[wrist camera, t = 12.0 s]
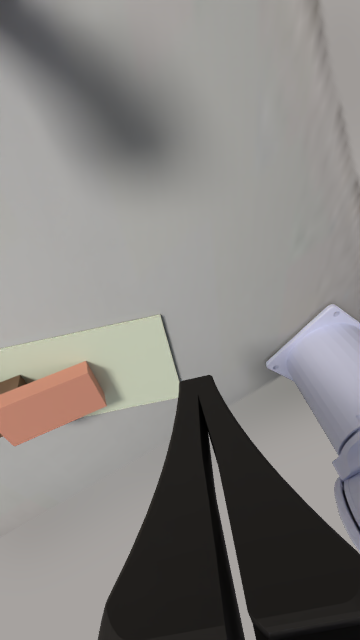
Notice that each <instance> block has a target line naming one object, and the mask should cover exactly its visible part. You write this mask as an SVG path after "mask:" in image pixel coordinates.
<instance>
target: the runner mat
mask: <svg viewBox="0 0 360 640" xmlns="http://www.w3.org/2000/svg"><path fill="white" fill-rule="evenodd" d="M84 361H87V363H88V365H89V367H90V369H91V370H92V372H93V374H94V376H95V378H96V379H97V381H98V383H99V385H100V386H101V388H102V390H103V392H104V394H105V399H106V405H107V406H106V407H104V408H101V409H99V410H97V411H94V412H92V413H90V414H88V415H85V416H83V417H86V416H91V415H96V414H101V413H106V412H111V411H116V410H120V409H125V408H130V407H135V406H140V405H145V404H150V403H155V402H159V401H164V400H169V399H174V398H178V395H179V383H180V382H179V378H178V375H177V371H176V368H175V364H174V361H173V357H172V354H171V350H170V347H169V343H168V340H167V336H166V333H165V329H164V326H163V322H162V319H161V315H155V316H151V317H146V318H141V319H137V320H132V321H128V322H123V323H118V324H114V325H109V326H104V327H100V328H95V329H90V330H86V331H81V332H76V333H72V334H67V335H62V336H58V337H53V338H48V339H44V340H39V341H34V342H30V343H25V344H20V345H16V346H11V347H7V348H2V349H0V382H2V381H5V380H7V379H10V378H13V377H15V376H18V375H21V376H22V378H23V379H24V380H25V381H26V383H27V384H28V383H31V382H33V381H36V380H38V379H41V378H43V377H46V376H49V375H51V374H54V373H56V372H59V371H61V370H64V369H66V368H69V367H71V366H74V365H76V364H79V363H82V362H84ZM81 418H82V417H81Z"/></svg>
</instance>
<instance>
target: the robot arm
mask: <svg viewBox="0 0 360 640" xmlns="http://www.w3.org/2000/svg"><path fill="white" fill-rule="evenodd" d="M335 312H336V313H335ZM334 313H335V314H334ZM266 366H267V368H268V369H270V370H272V371H274V372H276V373H278V374H280V375H282V376H284V377H286V378H288V379H291V380H292V381H294V382H295V384H296V385H297V387H298V388H299V390H300V392H301V394H302V395H303V397H304V399H305V400H306V402H307V403H308V405H309V407H310V408H311V410H312V412H313V414H314V415H315V417H316V419H317V420H318V422H319V423H320V425H321V427H322V429H323V430H324V432H325V434H326V435H327V437H328V439H329V440H330V442H331V444H332V445H333V447H334V449H335V450H336V452H337V454H338V455H339V457H338V458H337V459H335V460H334V461H333V462H332V464H333V465H334V467H335V469H336V471H337V472H338V474H339V476H340V477H339V478H338V479H337V480H336V482H335V487H334V491H335V499H336V503H337V508H338V512H339V515H340V518H341V520H342V522H343V525H344V527H345V529H346V531H347V533H348V535H349V536H350V538H351V540H352V541H353V543H354V545H355V546H356V548H357V549H358V551H359V552H360V322H358V321H357V320H355V319H354V318H353V317H351V316H350V315H349V314H347V313H346V312H345V311H343V310H342V309H341V308H339V307H338V306H337V305H335V304H331V305H329V306H327V307H326V308H325V309H324V310H323V311H322V312H321V313H319V314H318V315H317V316H316V317H315V318H314V319H313V320H312V321H311V322H310V323H308V324H307V325H306V326H305V327H304V328H303V329H302V330H301V331H300V332H299V333H297V334H296V335H295V336H294V337H293V338H292V339H291V340H290V341H289V342H288V343H287V344H285V345H284V346H283V347H282V348H281V349H280V350H279V351H278V352H277V353H276V354H274V355H273V356H272V357H271V358H270V359H269V360H268V361H267V362H266ZM208 433H209V436H210V440H211V443H212V446H213V450H214V453H215V456H216V460H217V463H218V467H219V471H220V476H221V481H222V486H223V490H224V496H225V501H226V505H227V510H228V515H229V520H230V525H231V530H232V535H233V540H234V545H235V550H236V555H237V560H238V565H239V570H240V575H241V580H242V585H243V590H244V595H245V599H246V605H247V610H248V613H249V616H250V618H251V620H252V623H253V627H254V631H255V636H256V640H360V554H359V553H358V552H357V551H356V550H355V549H354V548H353V547H352V546H351V545H349V544H348V543H347V542H346V541H345V540H344V539H343V538H342V537H341V536H340V535H339V534H337V532H336V531H334V530H333V529H332V528H331V527H330V526H329V525H328V524H327V523H326V522H325V521H324V520H323V519H322V518H321V517H320V516H319V515H318V514H317V513H316V512H315V511H314V510H313V509H312V508H311V507H310V506H309V505H308V504H307V503H306V502H305V501H304V500H303V499H302V498H301V497H300V496H299V495H298V494H297V493H296V492H295V491H294V489H293V488H292V487H291V486H290V485H289V484H288V483H287V482H286V481H285V480H284V479H283V478H282V477H281V476H280V475H279V473H278V472H277V471H276V470H275V469H274V468H273V466H272V465H271V464H270V463H269V462H268V461H267V460H266V458H265V457H264V456H263V455H262V454H261V452H260V451H259V450H258V449H257V447H256V446H255V445H254V444H253V442H252V441H251V440H250V438H249V437H248V436H247V434H246V433H245V432H244V430H243V429H242V428H241V426H240V425H239V424H238V422H237V421H236V419H235V417H234V416H233V414H232V413H231V411H230V410H229V408H228V407H227V405H226V403H225V402H224V400H223V398H222V396H221V395H220V393H219V391H218V389H217V387H216V385H215V382H214V380H213V377H212V376H211V375H207V376H202V377H198V378H193V379H189V380H184V381H181V382H180V383H179V395H178V404H177V411H176V416H175V421H174V427H173V432H172V436H171V440H170V444H169V448H168V452H167V456H166V459H165V462H164V466H163V469H162V472H161V475H160V478H159V481H158V485H157V487H156V490H155V493H154V496H153V498H152V501H151V504H150V506H149V509H148V512H147V514H146V517H145V519H144V522H143V524H142V526H141V529H140V531H139V533H138V536H137V538H136V540H135V543H134V545H133V547H132V549H131V552H130V554H129V556H128V558H127V560H126V562H125V565H124V567H123V569H122V571H121V573H120V575H119V577H118V579H117V581H116V583H115V585H114V587H113V589H112V591H111V593H110V595H109V597H108V600H107V602H106V605H105V608H104V613H103V617H102V621H101V626H100V631H99V637H98V640H245V638H244V633H243V628H242V623H241V618H240V613H239V609H238V604H237V599H236V594H235V589H234V584H233V579H232V575H231V570H230V565H229V560H228V555H227V550H226V545H225V540H224V535H223V530H222V525H221V520H220V515H219V510H218V505H217V500H216V493H215V487H214V478H213V470H212V462H211V453H210V444H209V436H208Z"/></svg>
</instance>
